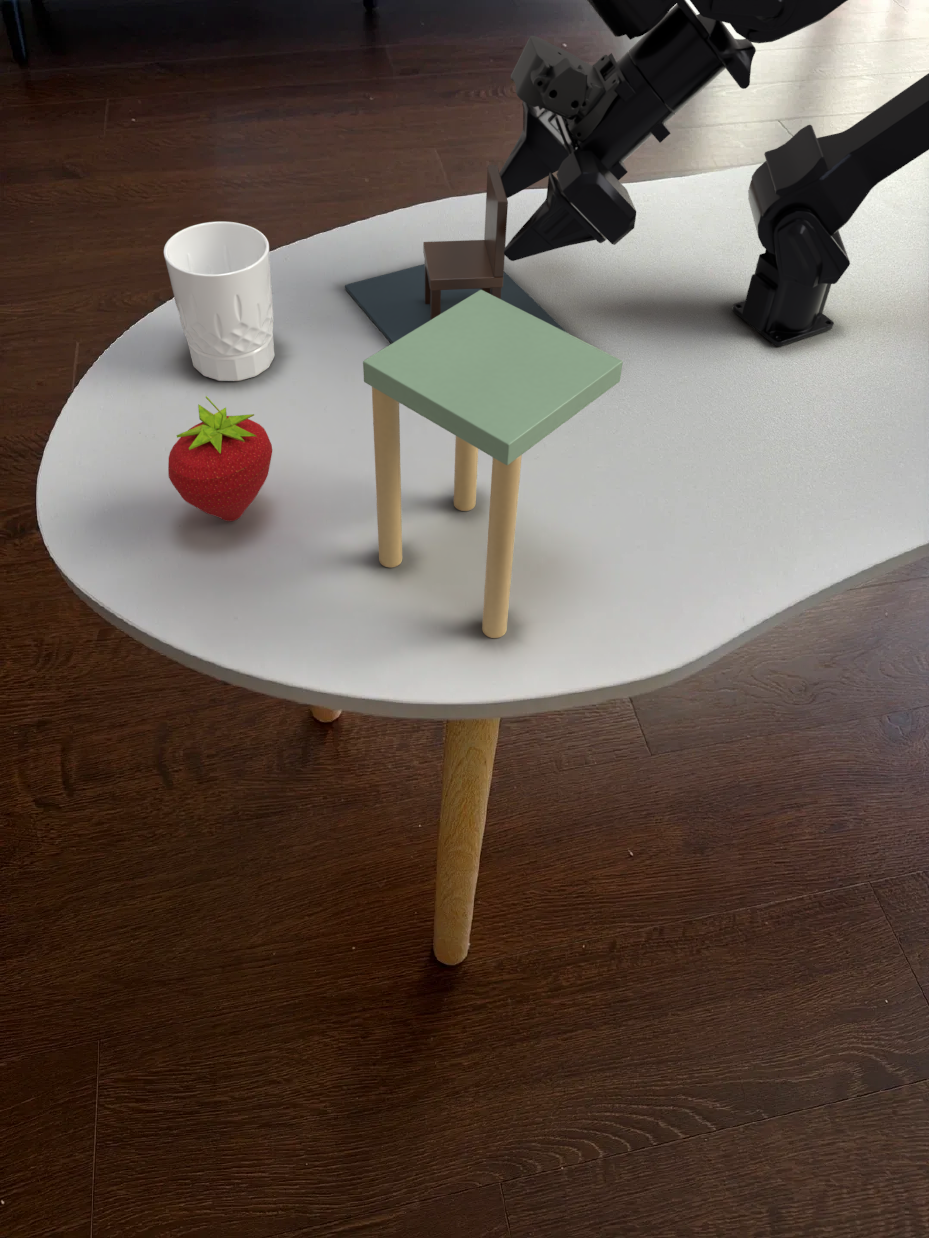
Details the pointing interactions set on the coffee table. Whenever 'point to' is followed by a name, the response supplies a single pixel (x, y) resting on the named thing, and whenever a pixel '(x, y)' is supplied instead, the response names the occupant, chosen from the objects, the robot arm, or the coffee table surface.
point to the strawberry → (220, 463)
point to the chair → (470, 253)
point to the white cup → (223, 297)
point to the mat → (423, 300)
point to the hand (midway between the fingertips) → (498, 226)
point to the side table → (480, 413)
